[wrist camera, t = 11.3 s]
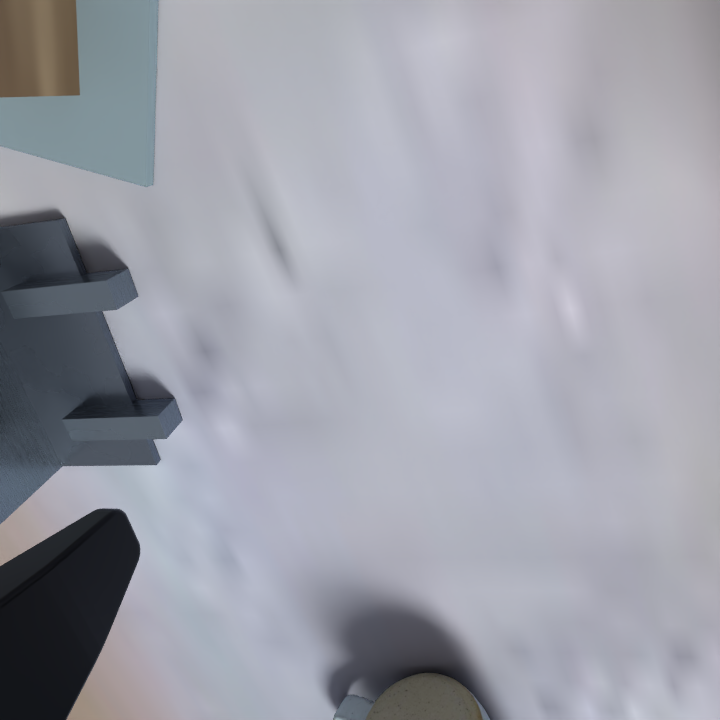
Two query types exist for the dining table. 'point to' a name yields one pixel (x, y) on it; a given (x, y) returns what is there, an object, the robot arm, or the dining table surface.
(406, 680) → the ceramic mug
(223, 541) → the dining table surface
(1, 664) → the robot arm
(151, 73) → the mat
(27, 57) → the tan rectangular block
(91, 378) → the bracket
